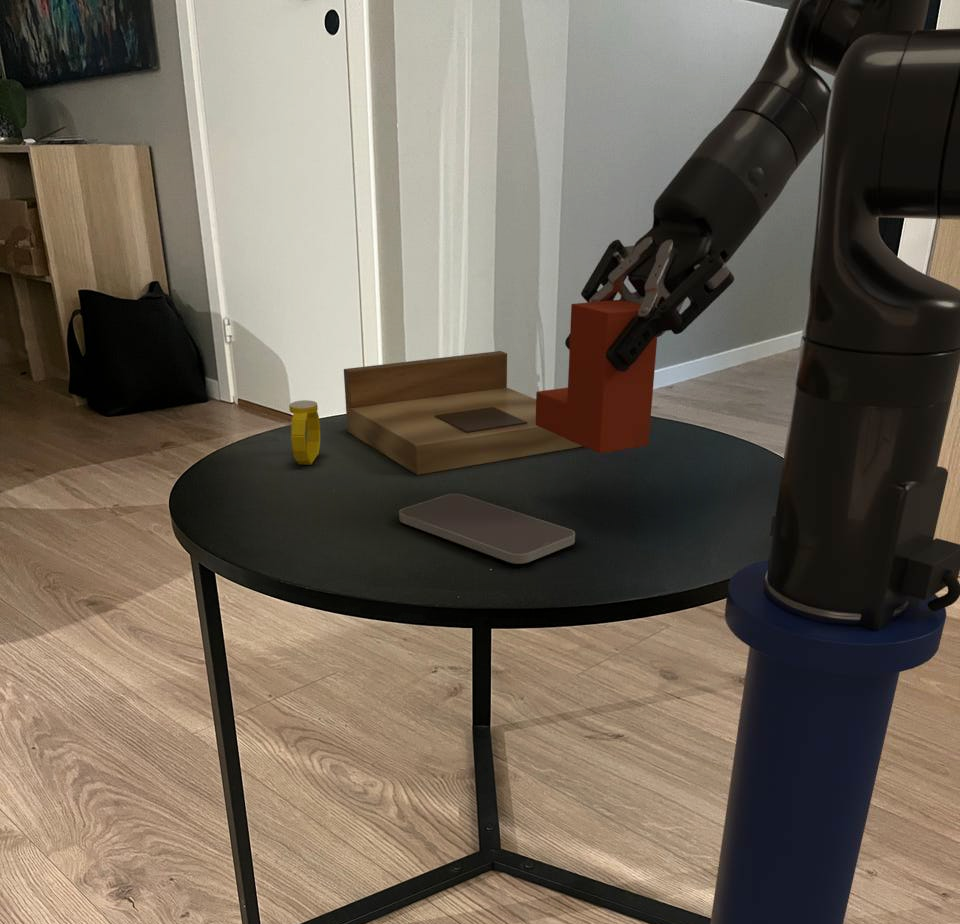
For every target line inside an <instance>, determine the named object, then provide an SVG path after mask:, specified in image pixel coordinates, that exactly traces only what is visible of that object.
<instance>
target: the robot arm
mask: <svg viewBox="0 0 960 924" xmlns="http://www.w3.org/2000/svg"><path fill="white" fill-rule="evenodd" d="M929 5H930V0H791V1H790V4H789V7H788V9H787V11H786V14H785V16H784V19H783V22H782V24H781V26H780V29H779V32H778V34H777V36H776V38H775V40H774V42H773V45H772V47H771V49H770V51H769V53H768V55H767V56H766V59H765V61H764V63H763V64H762V67H761V68H760V70H759V72H758V74H757V76H756V77H755V79H754V80H753V82H752V83H751V84H750V85H749V87H748V88H747V89H746V90H745V91H744V93H743V94H742V95H741V97H740V98H739V99H738V100H737V102H736V103H735V104H734V105H733V107H732V108H731V109H730V111H728V113H727V115H726V116H725V117H724V118H723V119H722V120H721V121H720V122H719V123H718V124H717V125H716V126H715V127H714V128H712V130H710V132H709V133H708V134H707V135H706V136H705V137H704V139H702V141H701V142H700V143H699V145H698V146H697V147H696V149H695V150H694V152H693V153H691V155H690V156H689V158H688V159H687V160H686V162H685V163H684V164H683V165H682V166H681V168H680V169H679V171H678V172H677V173H676V175H675V176H673V178H672V179H671V181H670V182H669V184H668V185H667V186H666V187H665V189H664V190H663V191H662V192H661V194H660V195H659V196H658V197H657V199H656V200H655V202H654V205H653V209H652V214H653V222H652V227H651V229H649V230H648V231H647V232H646V233H645V234H644V235H643V236H642V237H640V238H638V240H637V241H636V242H635V244H633V245H627V246H624V244H623V243H622V241H621V240H620V239H615V240H613V241H612V242H610V243H609V245H608V246H607V247H606V249H605V251H604V253H603V255H602V256H601V258H600V259H599V261H598V263H597V264H596V267H595V268H594V269H593V272H592V273H591V275H590V277H589V279H588V280H587V281H586V283H585V285H584V286H583V288H582V289H581V293H580V295H581V297H582V298H583V299H584V300H585V302H586V303H588V302H600V301H611V300H615V298H616V296H617V295H618V294H619V295H620V298H619V300H626V301H630V302H635V303H639V304H641V306H640V308H639V310H638V313H637V314H638V316H639V317H640V318H636V317H633V318H632V319H631V321H630V322H629V323H628V324H627V326H626V327H625V328H624V329H623V331H622V332H621V333H620V335H619V336H618V337H617V338H616V340H615V341H614V342H613V343H612V345H611V346H610V347H609V349H608V350H607V352H606V358H607V359H608V360H609V362H610V363H611V364H612V365H613V366H614V368H615V369H616V370H619V371H622V372H625V371H626V370H627V369H628V368H629V367H630V366H631V365H632V364H633V363H634V362H635V361H636V360H637V359H638V357H639V355H641V353H642V352H643V351H644V350H645V348H646V347H647V346H648V345H649V343H650V342H651V341H652V339H653V338H654V337H657V338H659V337H661V336H663V335H664V334H665V333H666V332H669V331H671V332H672V333H673V334H674V335H679V334H681V333H683V332H684V331H685V330H686V329H687V328H688V327H689V326H690V325H691V324H692V323H693V322H694V321H695V320H696V319H697V318H699V316H701V314H702V313H703V312H704V311H706V310H707V309H708V308H709V306H711V305H712V304H713V302H715V301H716V300H717V299H718V298H719V297H720V296H721V295H722V294H723V293H724V292H725V291H726V290H727V289H728V288H729V287H730V286H731V285H732V284H734V281H735V276H734V275H733V273H732V271H731V270H730V269H729V267H728V266H727V263H728V262H729V261H730V260H731V259H732V257H733V256H734V255H735V253H736V252H737V251H738V250H739V249H740V247H741V246H742V245H743V243H744V242H745V241H746V240H747V238H748V237H749V236H750V234H751V233H752V232H753V231H754V229H755V228H756V227H757V225H758V224H759V223H760V221H761V220H762V219H763V218H764V217H765V215H766V214H767V212H768V211H769V210H770V209H771V208H772V206H773V205H774V204H775V203H776V201H777V200H778V198H779V197H780V196H781V194H782V192H783V190H784V189H785V187H786V185H787V184H788V182H789V180H790V179H791V177H792V176H793V174H794V173H795V172H796V171H797V169H798V168H799V167H800V165H801V164H802V163H803V162H804V160H805V159H806V158H807V157H808V155H809V154H810V152H812V150H813V149H814V147H815V146H817V144H818V143H819V141H820V140H821V139H822V138H823V142H822V150H821V162H820V174H819V187H818V197H817V209H816V218H815V229H814V237H813V245H812V252H811V253H812V254H811V260H810V269H809V276H808V284H807V292H806V293H807V294H806V301H805V302H806V304H805V312H804V320H803V325H802V332H801V334H802V335H801V336H800V337H801V340H800V345H799V353H798V358H797V359H798V360H797V365H796V373H795V379H794V385H793V393H792V399H791V405H790V413H789V420H788V427H787V434H786V440H785V447H784V454H783V461H782V466H781V475H780V481H779V489H778V495H777V503H776V509H775V514H774V515H773V516H772V519H771V525H770V532H769V537H772V539H771V545H770V552H769V556H768V559H767V560H768V571H767V572H766V575H765V582H764V593H765V595H766V596H767V598H768V599H769V600H770V601H771V602H772V603H773V604H775V605H776V606H778V607H779V608H781V609H783V610H785V611H787V612H789V613H791V614H794V615H796V616H799V617H802V618H805V619H809V620H812V621H816V622H821V623H826V624H833V625H841V626H855V627H861V628H865V629H867V630H870V631H879V630H881V629H882V628H884V627H885V626H887V625H888V624H890V623H891V622H893V621H895V620H897V619H899V618H900V617H902V616H903V615H904V614H905V613H907V612H908V611H910V610H912V609H913V608H915V607H916V606H918V605H919V601H920V599H922V600H926V599H928V598H930V597H931V596H933V595H934V594H936V595H937V593H939V592H940V591H942V590H943V589H946V588H947V593H945V594H944V595H941V596H938V598H936V599H933V600H931V601H930V602H928V607H929V609H930V610H931V611H933V612H936V611H937V610H940V609H942V608H945V609H946V608H947V607H950V606H952V605H954V604H955V603H956V602H957V600H958V599H959V598H960V581H959V580H958V579H959V575H960V543H956V542H953V541H949V540H945V539H942V538H939V537H936V538H935V534H936V530H937V527H938V521H939V517H940V513H941V509H942V503H943V499H944V495H945V491H946V486H947V482H948V477H949V470H948V469H947V468H946V467H944V466H943V467H942V466H938V465H939V460H940V456H941V451H942V446H943V442H944V438H945V433H946V428H947V424H948V418H949V414H950V410H951V406H952V401H953V397H954V392H955V387H956V383H957V379H958V375H959V374H958V373H959V369H960V289H959V288H957V287H955V286H952V285H950V284H949V283H946V282H944V281H941V280H939V279H938V278H937V279H936V278H934V277H932V276H930V275H927V274H925V273H923V272H922V271H919V270H918V269H916V268H914V267H913V266H911V265H909V264H907V263H906V262H905V261H904V260H902V259H901V258H900V257H898V255H896V254H895V253H894V252H893V251H892V250H891V249H890V248H889V247H888V246H887V245H886V243H885V242H884V241H883V239H882V236H881V235H880V234H881V233H880V229H879V218H892V219H893V218H894V219H897V218H898V219H920V220H921V219H922V220H923V219H924V220H954V221H958V220H959V221H960V28H939V29H938V28H937V29H924V28H925V24H926V21H927V15H928V10H929ZM815 68H816V69H818V70H820V71H822V72H824V73H826V74H828V75H830V76H833V77H834V79H833V82H832V86H831V88H830V86H829V84H828V83H827V82H826V81H825V79H824V78H823V77H822V75H821V74H819V72H817V71H816V70H815ZM626 279H627V281H629V283H630V284H631V286H632V287H633V288H634V290H635V291H634V292H631V291H630V289H629V288H628V287H627V285H626V284H625V281H626ZM600 286H602V287H601V288H600ZM599 288H600V289H599ZM598 289H599V290H598ZM687 298H688V300H689V301H690V303H689V305H688V306H687V307H686V308H685V309H684V310H683V311H682V312H681V313H680V311H681V310H682V307H683V305H684V303H685V300H686V299H687ZM564 344H565V347H566V348H567V349H568V350H570V333H569V334H568V335H567V337H566V339H565V341H564Z"/></svg>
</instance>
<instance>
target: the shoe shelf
mask: <svg viewBox="0 0 960 924" xmlns="http://www.w3.org/2000/svg"><path fill="white" fill-rule="evenodd" d="M343 381H344V397H345V413H346V429H347V430H346V431H347V432H348V433H349V434H351V435H352V436H354V437H356V438H357V439H359V440H361V441H362V442H363V443H365V444H366V445H368V446H370V447H372V448H373V449H375V450H377V451H378V452H379V453H381V454H383V455H385V456H386V457H387V458H389V459H390V460H392V461H394V462H396V463H397V464H399V465H401V466H402V467H404V468H405V469H407V470H409V471H410V472H412V473H413V474H415V475H417V476H419V475H425V474H431V473H436V472H443V471H448V470H449V471H450V470H454V469H460V468H461V469H462V468H466V467H470V466H477V465H482V464H489V463H496V462H501V461H506V460H512V459H518V458H519V459H520V458H523V457H530V456H536V455H543V454H547V453H548V454H549V453H553V452H559V451H565V450H571V449H576V448H583V447H584V446H581V445H579V444H577V443H574V442H572V441H570V440H567V439H566V438H564V437H562V436H560V435H557V434H555V433H553V432H550V431H548V430H546V429H544V428H541V427H539V426H537V425H536V398H534V397H532V396H529V395H527V394H524V393H522V392H520V391H517V390H514V389H512V388H509V387H508V353H507V352H505V351H502V350H496V351H488V352H478V353H470V354H469V353H468V354H462V355H453V356H445V357H436V358H427V359H418V360H410V361H401V362H400V361H399V362H392V363H382V364H375V365H374V364H373V365H367V366H357V367H349V368H344V369H343Z"/></svg>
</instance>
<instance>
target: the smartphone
mask: <svg viewBox="0 0 960 924" xmlns="http://www.w3.org/2000/svg"><path fill="white" fill-rule="evenodd" d="M398 520H399V522H400V523H402V524H405V525H407V526H409V527H413V528H415V529H418V530H421V531H422V532H426V533H429V534H431V535H434V536H436V537H440V538H442V539H446V540H447V541H450V542H453V543H456V544H458V545H461V546H464V547H467V548H469V549H471V550H474V551H477V552H480V553H483V554H485V555H488V556H491V557H493V558H496V559H499V560H502V561H505V562H506V563H509V564H515V565H516V564H517V565H521V564H528V563H530V562H533V561H535V560H537V559H541V558H543V557H545V556H548V555H550V554H552V553H555V552H558V551H561V550H562V549H565V548H567V547H570V546H572V545H574V544H575V542H576V532H575V531H574V530H572V529H570V528H567V527H565V526H561V525H558V524H555V523H551V522H549V521H545V520H542V519H539V518H536V517H533V516H530V515H527V514H523V513H521V512H518V511H515V510H512V509H508V508H505V507H503V506H499V505H496V504H493V503H489V502H486V501H483V500H481V499H477V498H475V497H471V496H468V495H464V494H461V493H450V494H445V495H441V496H439V497H436V498H432V499H429V500H426V501H423V502H419V503H416V504H413V505H411V506H407V507H404V508H401V509H400V510H399V512H398Z"/></svg>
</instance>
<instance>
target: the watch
mask: <svg viewBox="0 0 960 924" xmlns="http://www.w3.org/2000/svg"><path fill="white" fill-rule="evenodd" d="M288 407H289V412H290V413H291V414H292V418H291V430H290V440H291V449H292V453H293V458H294V460H295V461H296V462H297V464H298V465H300V466H301V465H304V466H305V465H306V466H311V465H312V464H313V462H315V460H316V458H317V457H318V456H320V449H321V422H320V416H319V412H318V410H319V407H318V402H317V401H314V400H309V399H308V400H306V399H305V400H296V401H292V402H291V403H289V406H288Z"/></svg>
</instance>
